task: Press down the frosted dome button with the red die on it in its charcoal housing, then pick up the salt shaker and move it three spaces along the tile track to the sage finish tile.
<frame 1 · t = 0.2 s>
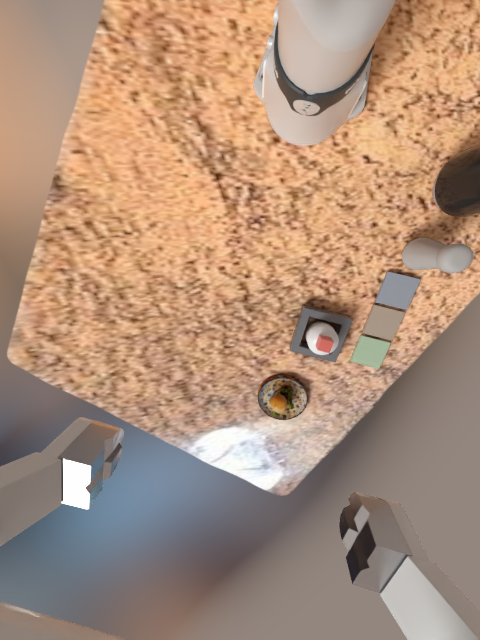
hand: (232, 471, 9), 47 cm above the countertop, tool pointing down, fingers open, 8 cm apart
button housing: (318, 331, 56), on the countertop
dome: (322, 340, 52), point 5 cm above the countertop, slide at 0.0 cm
salt shaker: (412, 253, 49), on the countertop
bowl of food: (282, 394, 63), on the countertop
track: (382, 322, 54), on the countertop
dark grey egg device: (453, 188, 45), on the countertop
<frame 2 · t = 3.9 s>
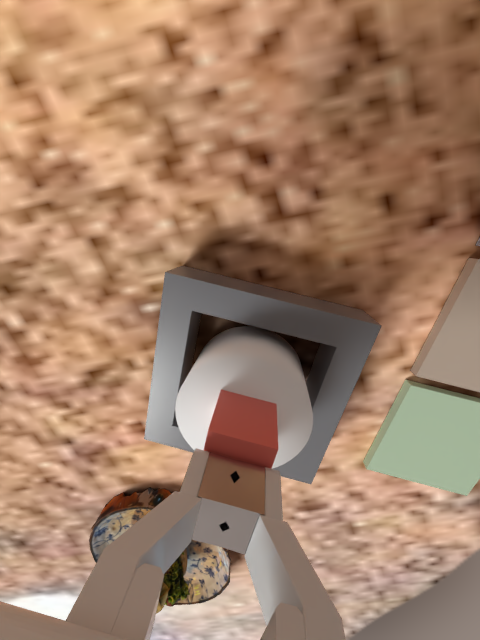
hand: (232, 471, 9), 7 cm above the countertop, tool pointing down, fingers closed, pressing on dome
button housing: (250, 366, 16), on the countertop
dome: (243, 410, 12), point 4 cm above the countertop, slide at 0.7 cm, touching gripper
bowl of food: (168, 533, 22), on the countertop
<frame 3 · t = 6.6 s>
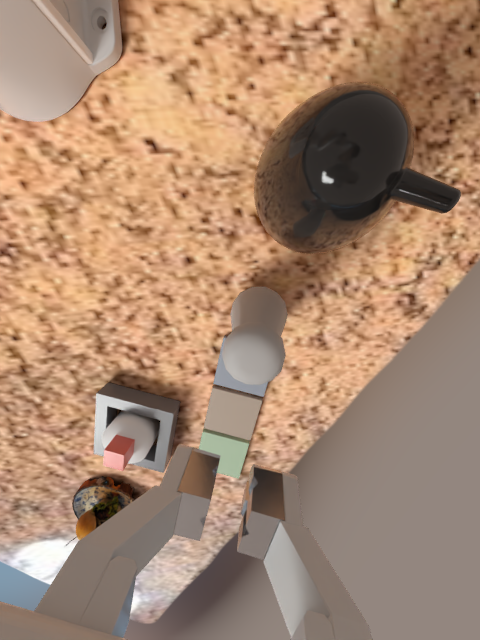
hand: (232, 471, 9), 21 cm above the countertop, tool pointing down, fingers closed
button housing: (140, 421, 36), on the countertop
dome: (127, 440, 32), point 4 cm above the countertop, slide at 1.3 cm
salt shaker: (259, 307, 29), on the countertop
bowl of food: (114, 501, 42), on the countertop
track: (232, 411, 33), on the countertop
dark grey egg device: (309, 197, 25), on the countertop
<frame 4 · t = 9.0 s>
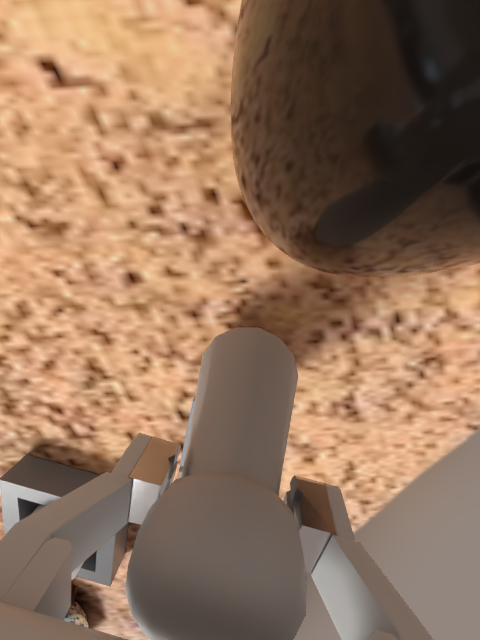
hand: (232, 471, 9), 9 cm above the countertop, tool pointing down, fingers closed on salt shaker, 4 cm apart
button housing: (78, 507, 24), on the countertop
dome: (48, 550, 21), point 4 cm above the countertop, slide at 1.3 cm
salt shaker: (250, 354, 18), on the countertop, touching gripper
bowl of food: (55, 597, 31), on the countertop
dark grey egg device: (340, 168, 14), on the countertop
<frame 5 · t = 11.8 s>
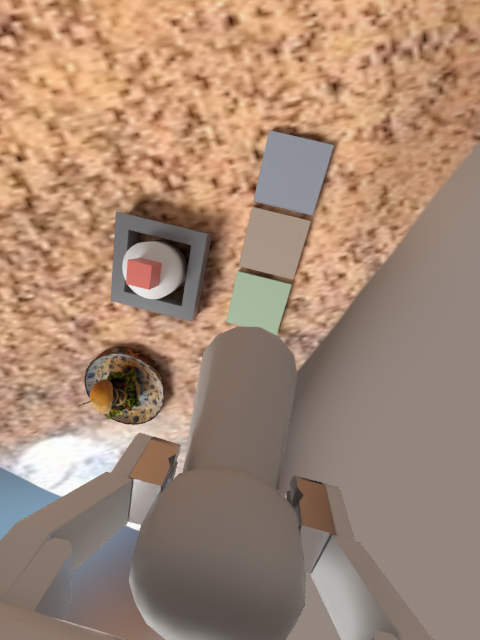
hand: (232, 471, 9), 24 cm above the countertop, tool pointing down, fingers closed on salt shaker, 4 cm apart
button housing: (164, 266, 31), on the countertop
dome: (151, 270, 28), point 4 cm above the countertop, slide at 1.3 cm
salt shaker: (250, 354, 18), point 14 cm above the countertop, touching gripper
bowl of food: (131, 382, 38), on the countertop
track: (273, 244, 29), on the countertop
when the fingers open (11 cm above the countertop, at t = 14.5 s): salt shaker drops 1 cm, resting on track.
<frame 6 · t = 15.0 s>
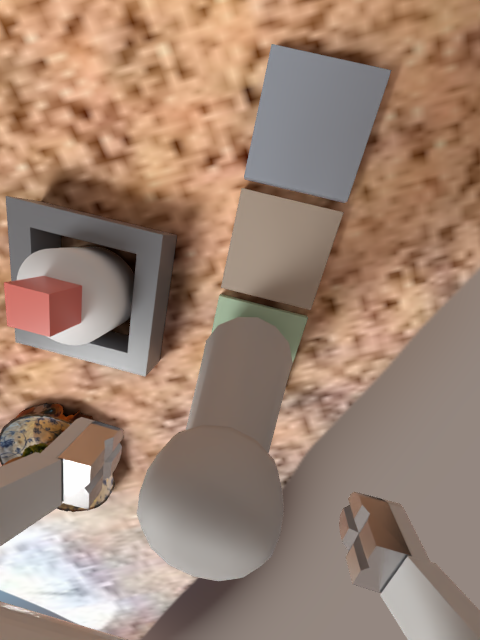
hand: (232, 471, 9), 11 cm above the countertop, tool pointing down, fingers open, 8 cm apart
button housing: (104, 287, 19), on the countertop
dome: (70, 297, 16), point 4 cm above the countertop, slide at 1.3 cm
salt shaker: (250, 344, 19), resting on track
bowl of food: (70, 449, 26), on the countertop
track: (277, 252, 17), on the countertop
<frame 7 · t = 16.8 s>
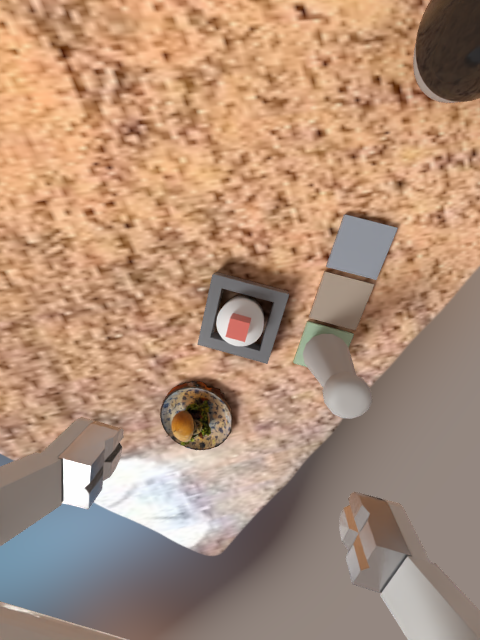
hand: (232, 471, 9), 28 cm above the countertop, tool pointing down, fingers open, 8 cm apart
button housing: (242, 315, 36), on the countertop
dome: (240, 322, 33), point 4 cm above the countertop, slide at 1.3 cm
salt shaker: (321, 347, 36), resting on track
bowl of food: (199, 411, 42), on the countertop
track: (339, 300, 34), on the countertop
dark grey egg device: (449, 63, 26), on the countertop
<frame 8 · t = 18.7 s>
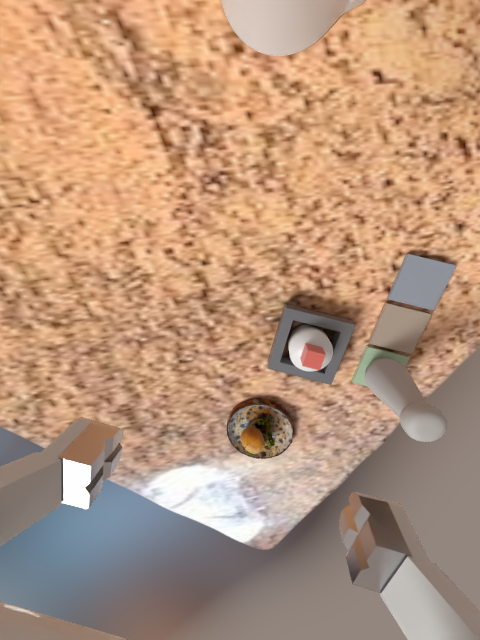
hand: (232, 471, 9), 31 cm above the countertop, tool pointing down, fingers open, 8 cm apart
button housing: (307, 341, 40), on the countertop
dome: (310, 350, 37), point 4 cm above the countertop, slide at 1.3 cm
salt shaker: (379, 368, 40), resting on track
bowl of food: (260, 424, 46), on the countertop
track: (397, 328, 38), on the countertop
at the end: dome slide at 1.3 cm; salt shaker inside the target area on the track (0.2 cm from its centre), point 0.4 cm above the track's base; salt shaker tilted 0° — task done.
